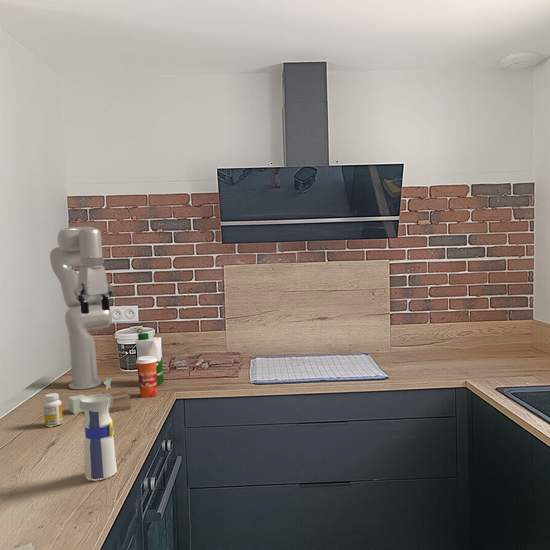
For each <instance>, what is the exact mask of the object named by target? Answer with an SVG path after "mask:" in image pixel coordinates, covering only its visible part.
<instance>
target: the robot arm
mask: <svg viewBox="0 0 550 550" xmlns="http://www.w3.org/2000/svg"><path fill="white" fill-rule="evenodd" d="M102 244H103V243H102V234H101V230H100V229H98V228H96V227H93V226H68V227H66V228H64V229H60V230H59V232H58V235H57V245H58V246H57V247H55V248H52V250H51V251H50V253H49V260H50V265H51V268H52V271H53V273H54V274H55V276H56V278H57V280H58V282H59V283H60V287H61V290H62V295H63V299H64V303H65V305H66V306H67V307H68V310H66V312H65V315H64V319H65V323H66V327H67V328H66V329H67V332H68V341H69V349H70V350H69V351H70V365H71V378H72V381H71V382H70V383H69V384H68V388H69V389H71V390H88V389H92V388H97V387H99V386H102V384H103V381H102V379H99V377H98V367H97V366H98V365H97V354H96V353H97V352H96V341H95V339H94V336H92V335H91V334H90V333H89V332H88V331H90V330H98V329H99V330H100V329H105V328H108V327H109V326H111V325H112V321H113V318H112V317H113V316H112V311H111V307H110V299H111V296H112V294H113V290H114V289H113V288H114V286H113V285H111V284H110V283H108V277H107V272H106V268H105V266H104V263H105V260H104V259H103V248H102ZM77 266H78V267H79V266H80V268H78V271H76V270H75V269H74V268H72V267H77Z"/></svg>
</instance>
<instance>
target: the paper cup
mask: <svg viewBox="0 0 550 550" xmlns="http://www.w3.org/2000/svg"><path fill="white" fill-rule="evenodd" d="M156 361H158V360H157V358H155V356H143V357H139V358H138V357H137V358H136V361H135V363H136V367H137V376H138V386H139V391H140V393H139V394H140V397H142V398H143V397H149V398H153V397H152V396H154V397H156V396H157V393H158V391H157V375H156ZM155 395H156V396H155Z"/></svg>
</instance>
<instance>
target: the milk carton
mask: <svg viewBox="0 0 550 550" xmlns="http://www.w3.org/2000/svg"><path fill="white" fill-rule="evenodd" d="M134 343H135V347H136V354H137V358H139V357H143V356H155V358H157V360H158V361H156V375H157V386H160V385H161V384H162V383H163V382H164V367H163V366H164V365H163V354H162V353H163V352H162V336H161V337H160V336H159V337H155V336H151V337H150V336H149V333H148V332H141V333H137V339H136V340H135V341H134ZM160 383H161V384H160Z"/></svg>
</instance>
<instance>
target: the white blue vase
mask: <svg viewBox="0 0 550 550" xmlns="http://www.w3.org/2000/svg"><path fill="white" fill-rule="evenodd" d="M111 382H112V379H111V378H110V379H109V377H108V376H106V378H105V381H104V382H103V384H104V385H105V391H107V390H108V389H112V386H111ZM85 396H86V397H83V398H81V399H80V403H79V407H80V408H81V409H84V420H83V422H82V426H83V427H84V441H83V450H84V454H83V455H84V477H85V476H86V477H88V478H91V479H92V478H93V479H98V478H99V479H100V478H106V477H109V476H112V475H114V474H115V473H116V472H117V473H118V469H117V460H116V451H115V440H114V438H115V437H114V434H115V422H113V419H112V418H111V415H110V414H109V407H111V408H112V405H113V398H112V396H111V395H109V394H103V393H96V394H90V395H85Z"/></svg>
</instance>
